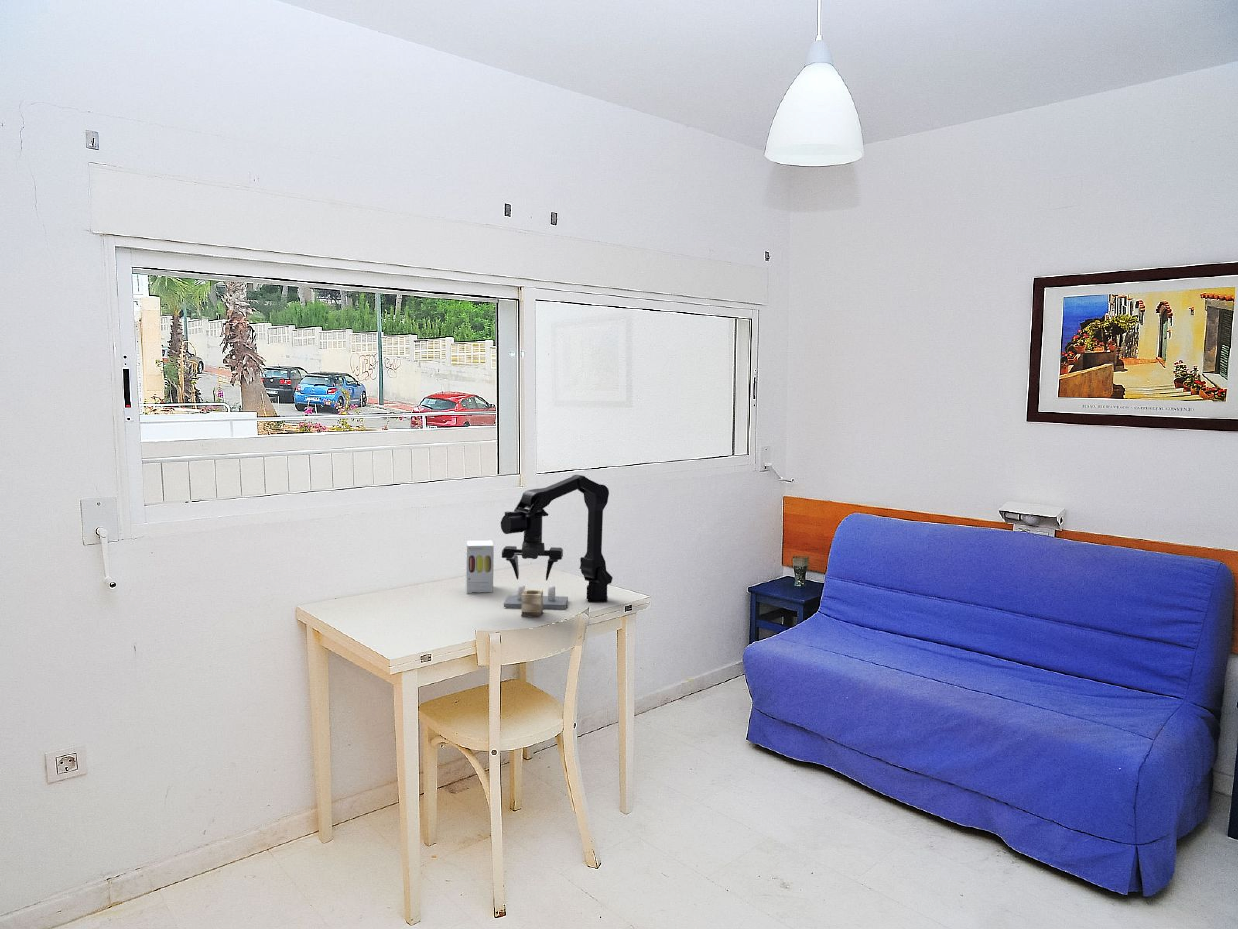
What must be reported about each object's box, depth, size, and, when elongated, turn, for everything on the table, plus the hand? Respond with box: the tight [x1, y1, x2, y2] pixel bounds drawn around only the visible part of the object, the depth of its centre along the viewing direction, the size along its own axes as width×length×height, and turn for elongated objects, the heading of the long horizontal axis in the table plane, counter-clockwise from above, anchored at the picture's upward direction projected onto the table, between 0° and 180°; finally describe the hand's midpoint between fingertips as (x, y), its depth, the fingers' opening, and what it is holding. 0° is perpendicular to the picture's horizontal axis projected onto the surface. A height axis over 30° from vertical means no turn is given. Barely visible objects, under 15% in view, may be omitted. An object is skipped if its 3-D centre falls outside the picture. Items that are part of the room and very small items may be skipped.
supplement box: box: [465, 540, 495, 594], centre depth 284 cm, size 10×9×17 cm
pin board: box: [503, 584, 569, 610], centre depth 267 cm, size 20×10×6 cm, turn 89°
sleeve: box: [521, 589, 544, 618], centre depth 256 cm, size 6×6×7 cm
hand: (532, 579), depth 255 cm, fingers open, 9 cm apart
